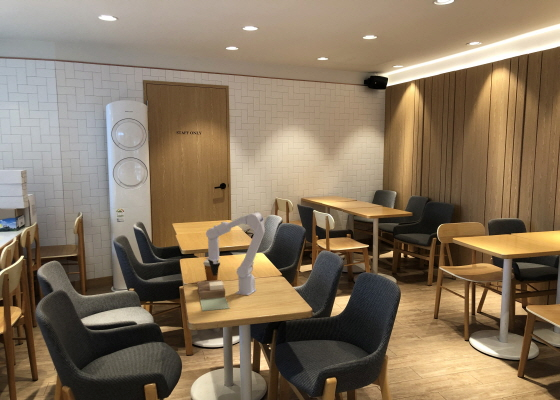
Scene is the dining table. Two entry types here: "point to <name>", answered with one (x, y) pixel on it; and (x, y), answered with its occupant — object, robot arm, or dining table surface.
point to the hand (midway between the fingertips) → (214, 273)
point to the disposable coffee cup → (209, 271)
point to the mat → (214, 304)
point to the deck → (206, 292)
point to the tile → (216, 285)
